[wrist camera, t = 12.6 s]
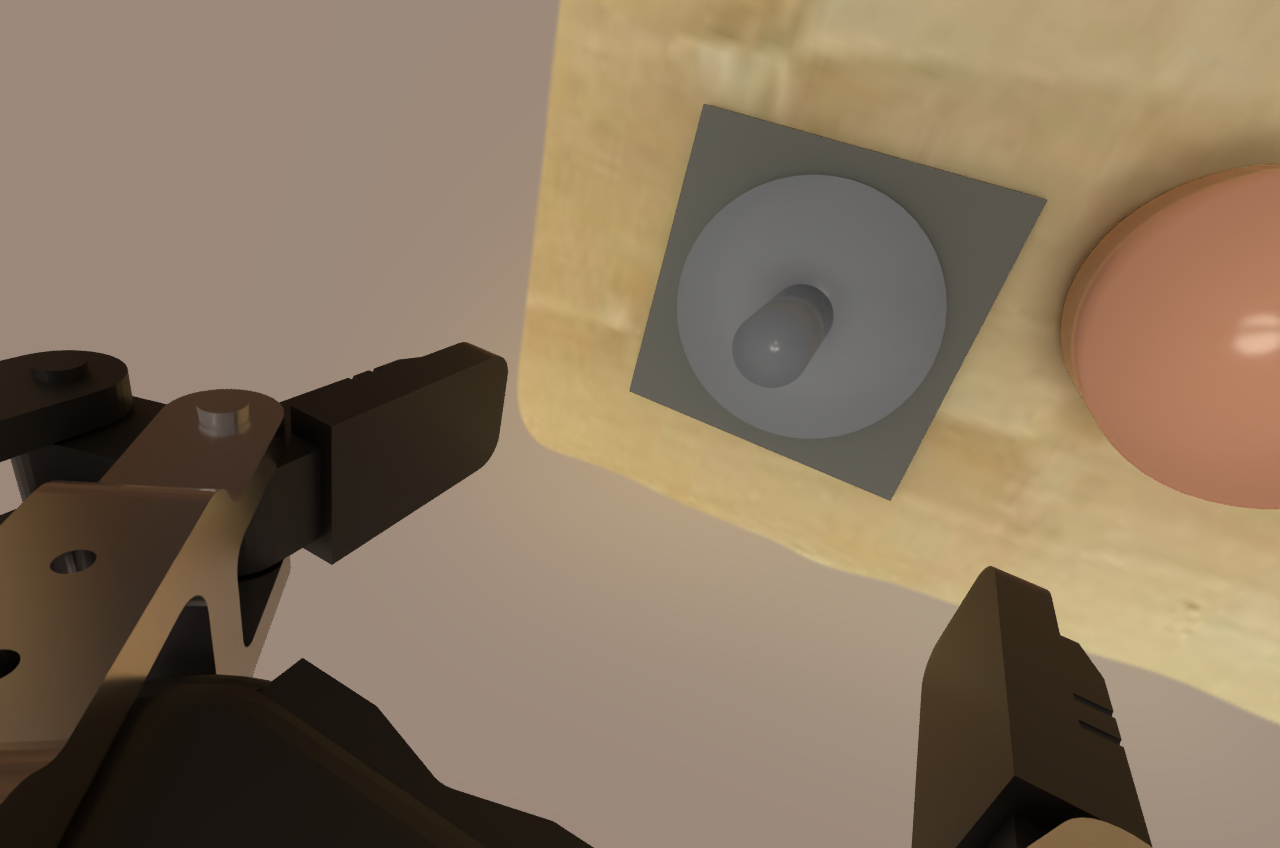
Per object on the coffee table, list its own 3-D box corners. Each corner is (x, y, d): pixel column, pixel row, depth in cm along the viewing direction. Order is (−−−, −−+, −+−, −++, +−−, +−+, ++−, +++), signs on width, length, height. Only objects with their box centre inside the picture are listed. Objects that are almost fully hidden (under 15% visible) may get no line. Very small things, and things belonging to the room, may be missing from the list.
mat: (1045, 198, 24) (1047, 200, 24) (891, 495, 31) (890, 500, 30) (708, 104, 28) (703, 103, 27) (633, 387, 34) (629, 391, 34)
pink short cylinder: (1503, 214, 20) (1697, 233, 15) (1277, 477, 24) (1366, 561, 19) (1150, 128, 22) (1212, 119, 17) (1007, 381, 27) (1022, 433, 22)
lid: (1000, 222, 25) (1019, 242, 19) (877, 470, 30) (863, 543, 24) (723, 141, 28) (666, 136, 22) (656, 379, 33) (596, 426, 27)
